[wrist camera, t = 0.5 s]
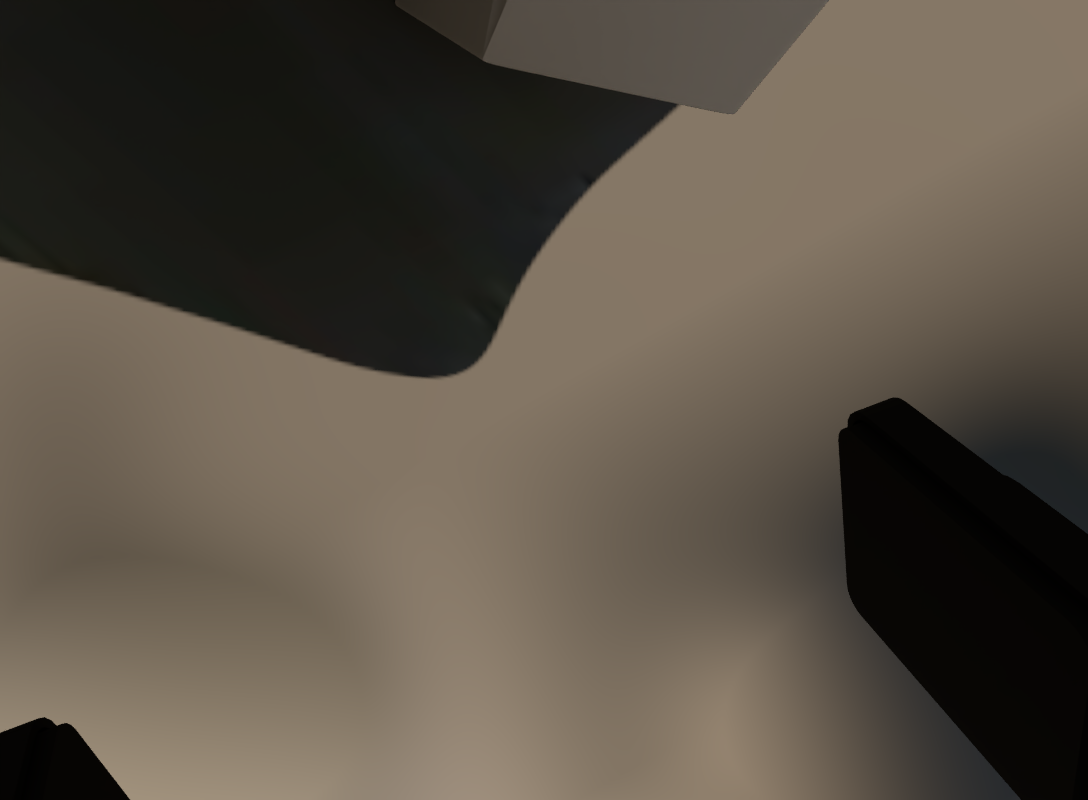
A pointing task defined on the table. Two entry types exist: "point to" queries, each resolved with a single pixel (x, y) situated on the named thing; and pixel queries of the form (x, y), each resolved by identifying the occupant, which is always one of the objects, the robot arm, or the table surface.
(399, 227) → the table surface
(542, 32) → the milk carton
